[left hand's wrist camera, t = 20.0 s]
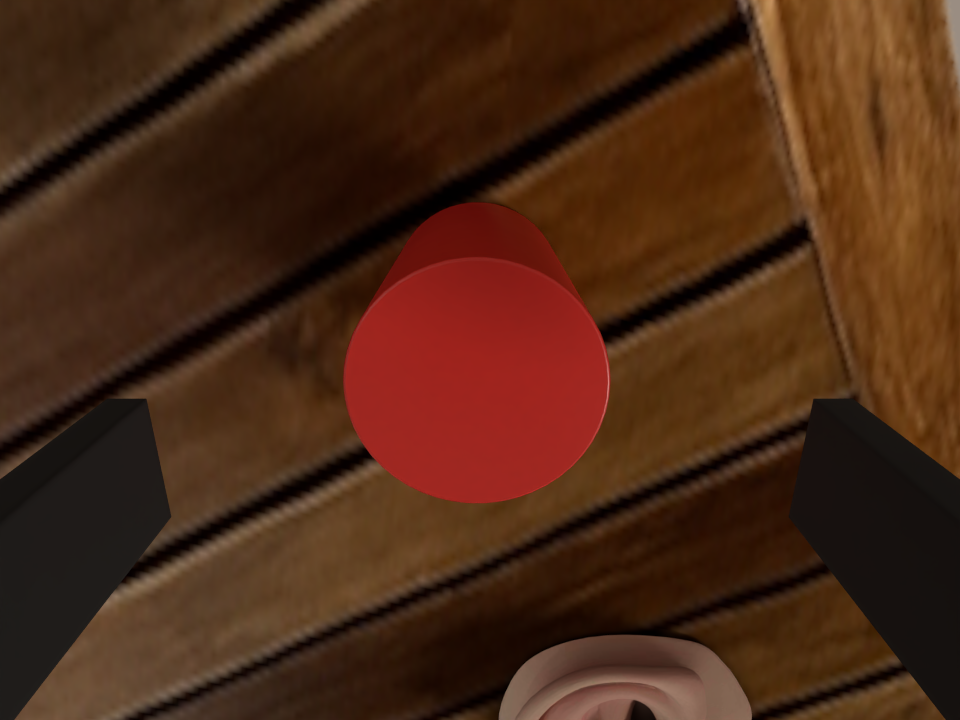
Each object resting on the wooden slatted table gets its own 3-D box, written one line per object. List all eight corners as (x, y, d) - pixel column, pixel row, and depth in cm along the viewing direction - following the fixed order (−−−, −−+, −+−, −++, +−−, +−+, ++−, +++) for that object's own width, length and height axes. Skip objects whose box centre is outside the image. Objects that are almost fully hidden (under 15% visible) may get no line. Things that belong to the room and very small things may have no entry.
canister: (498, 388, 28) (510, 544, 18) (366, 306, 27) (294, 423, 16) (591, 262, 26) (666, 355, 16) (453, 167, 25) (435, 199, 14)
